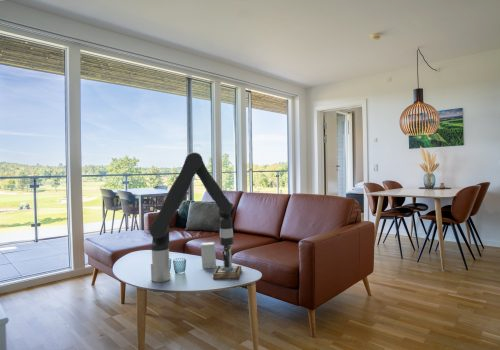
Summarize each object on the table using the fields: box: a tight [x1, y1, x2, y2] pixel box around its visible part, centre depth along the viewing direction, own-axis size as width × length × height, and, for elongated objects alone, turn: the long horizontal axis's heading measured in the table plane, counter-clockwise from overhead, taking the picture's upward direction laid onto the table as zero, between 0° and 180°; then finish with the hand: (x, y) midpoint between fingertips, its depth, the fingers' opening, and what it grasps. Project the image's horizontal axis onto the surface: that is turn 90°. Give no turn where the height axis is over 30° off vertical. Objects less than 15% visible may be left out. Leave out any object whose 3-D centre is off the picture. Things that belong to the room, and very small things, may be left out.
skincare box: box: [200, 241, 217, 270], centre depth 202 cm, size 8×6×15 cm
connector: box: [222, 252, 233, 271], centre depth 187 cm, size 4×4×10 cm
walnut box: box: [212, 265, 242, 280], centre depth 187 cm, size 14×14×3 cm
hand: (227, 265), depth 187 cm, fingers closed on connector, 4 cm apart
